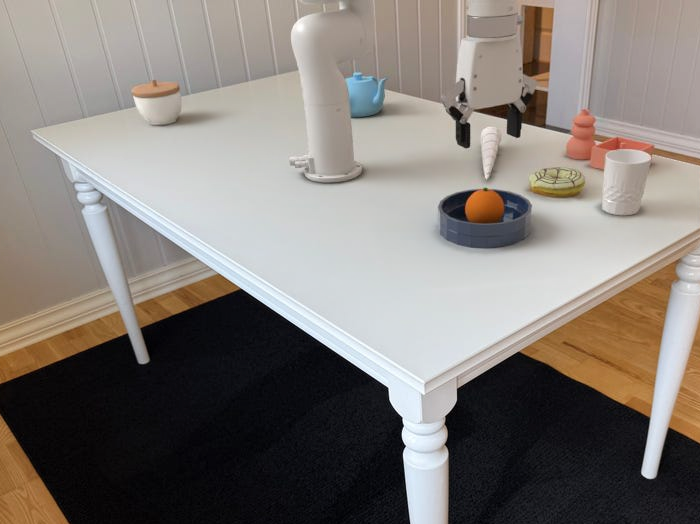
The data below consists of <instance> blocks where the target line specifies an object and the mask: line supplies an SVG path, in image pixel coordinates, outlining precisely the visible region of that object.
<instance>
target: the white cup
mask: <svg viewBox="0 0 700 524" xmlns="http://www.w3.org/2000/svg"><path fill="white" fill-rule="evenodd" d="M650 162H651V156H650V155H649V154H648V153H646V152H643V151H639V150H632V149H619V150H613V151H610V152H608V153H607V154H606V157H605V168H604V170H603V180H602V199H601V208H602V210H603V211H604V212H606V213H608V214H611V215H614V216H633V215H635V214H637V213H638V212H639V211H640V208H641V205H642V199H643V196H644V192H645V187H646V184H647V180H648V176H649V172H650V166H651V165H650ZM651 163H652V162H651Z"/></svg>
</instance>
